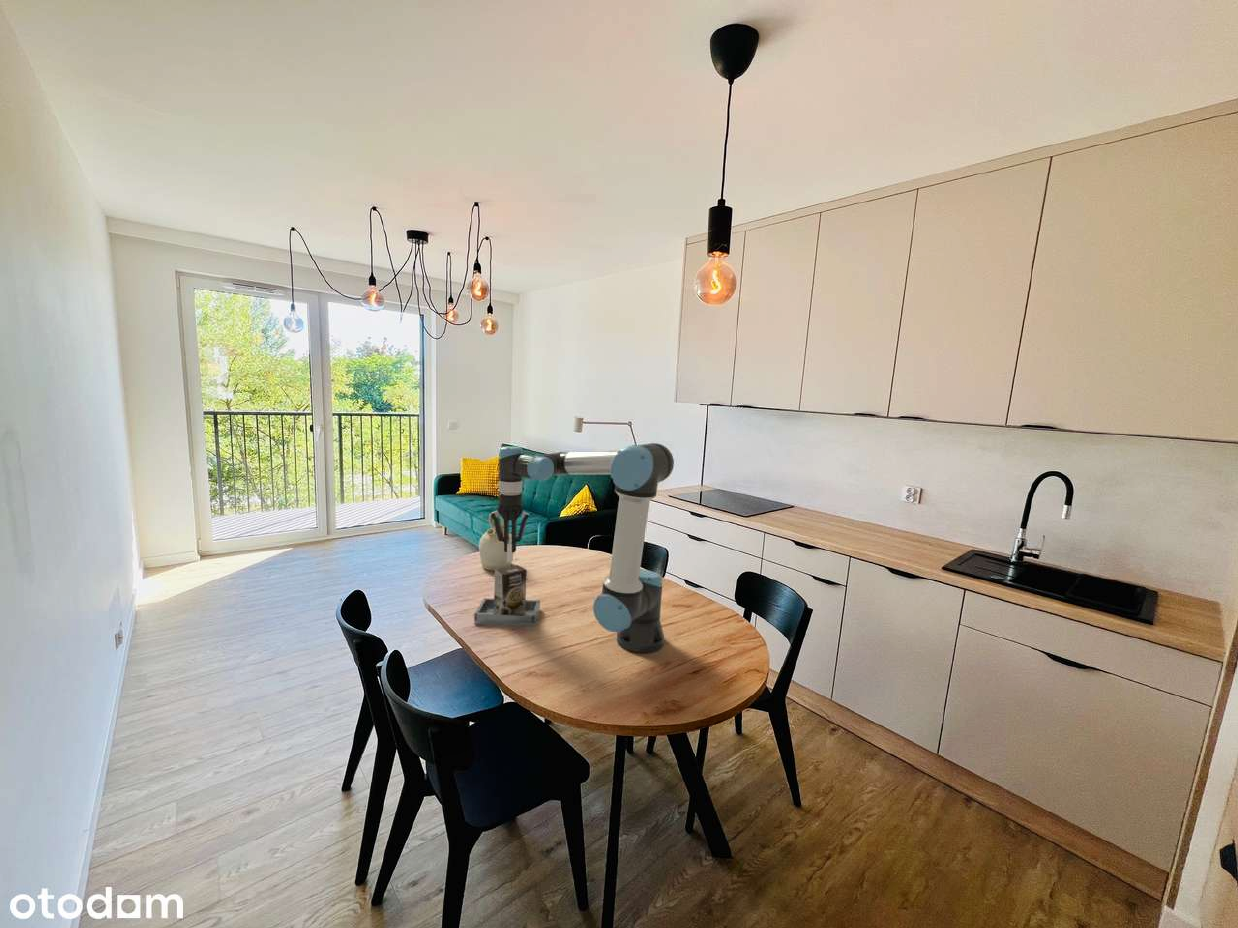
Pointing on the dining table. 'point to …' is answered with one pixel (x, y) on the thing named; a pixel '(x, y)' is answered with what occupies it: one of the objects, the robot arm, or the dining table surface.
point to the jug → (493, 548)
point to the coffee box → (510, 590)
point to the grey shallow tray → (489, 617)
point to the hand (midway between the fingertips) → (510, 560)
